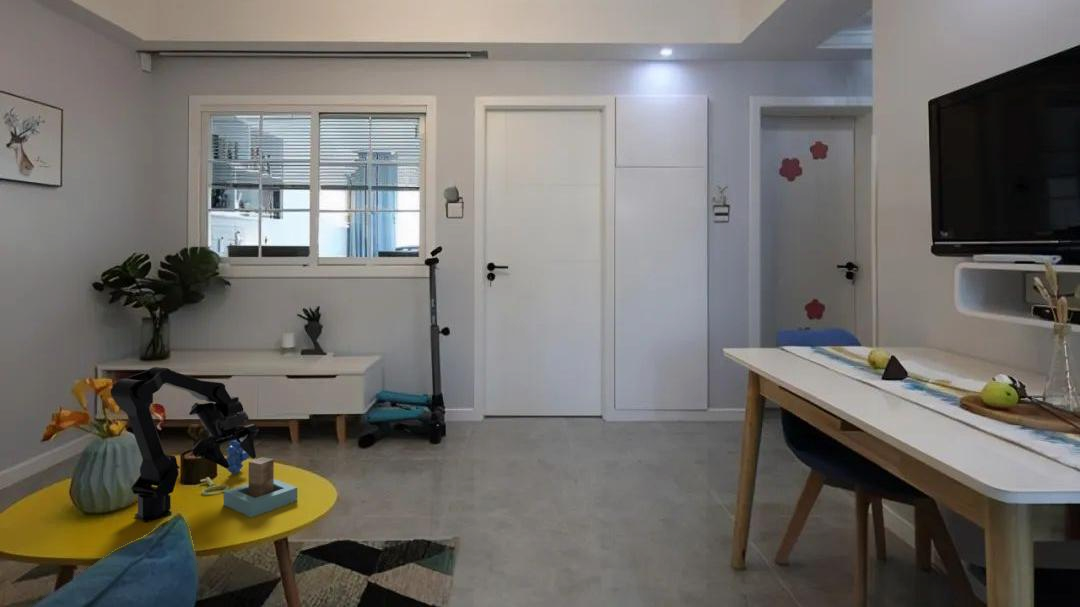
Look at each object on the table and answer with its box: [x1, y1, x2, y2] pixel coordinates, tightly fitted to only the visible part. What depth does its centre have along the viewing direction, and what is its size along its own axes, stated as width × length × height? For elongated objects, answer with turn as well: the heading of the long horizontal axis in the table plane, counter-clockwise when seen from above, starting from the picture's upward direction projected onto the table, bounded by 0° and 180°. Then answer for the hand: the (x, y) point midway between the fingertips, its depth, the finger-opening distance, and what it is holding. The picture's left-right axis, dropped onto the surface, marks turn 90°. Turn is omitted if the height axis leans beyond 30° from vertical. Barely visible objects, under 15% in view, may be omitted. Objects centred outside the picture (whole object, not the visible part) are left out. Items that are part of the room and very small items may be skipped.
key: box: [199, 476, 230, 497], centre depth 169 cm, size 7×12×2 cm, turn 62°
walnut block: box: [248, 456, 275, 498], centre depth 160 cm, size 5×5×12 cm
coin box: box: [223, 478, 298, 518], centre depth 161 cm, size 14×14×4 cm
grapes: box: [225, 440, 250, 475], centre depth 182 cm, size 12×7×12 cm, turn 11°
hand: (241, 462), depth 163 cm, fingers open, 9 cm apart
